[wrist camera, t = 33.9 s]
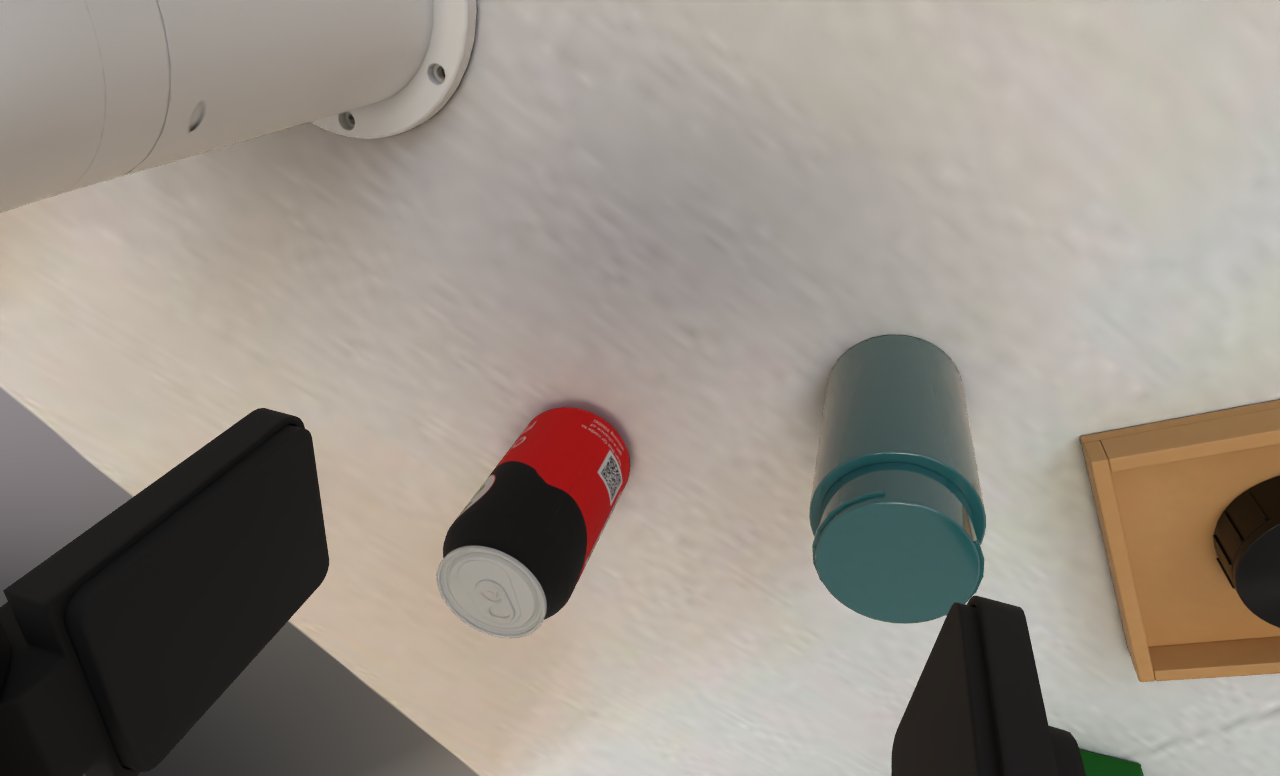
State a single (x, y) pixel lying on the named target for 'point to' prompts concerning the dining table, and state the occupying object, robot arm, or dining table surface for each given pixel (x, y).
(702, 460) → the dining table surface
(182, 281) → the dining table surface
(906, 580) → the jar
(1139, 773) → the milk carton
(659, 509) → the dining table surface
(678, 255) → the dining table surface
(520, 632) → the beverage can
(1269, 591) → the lid
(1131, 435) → the tray
